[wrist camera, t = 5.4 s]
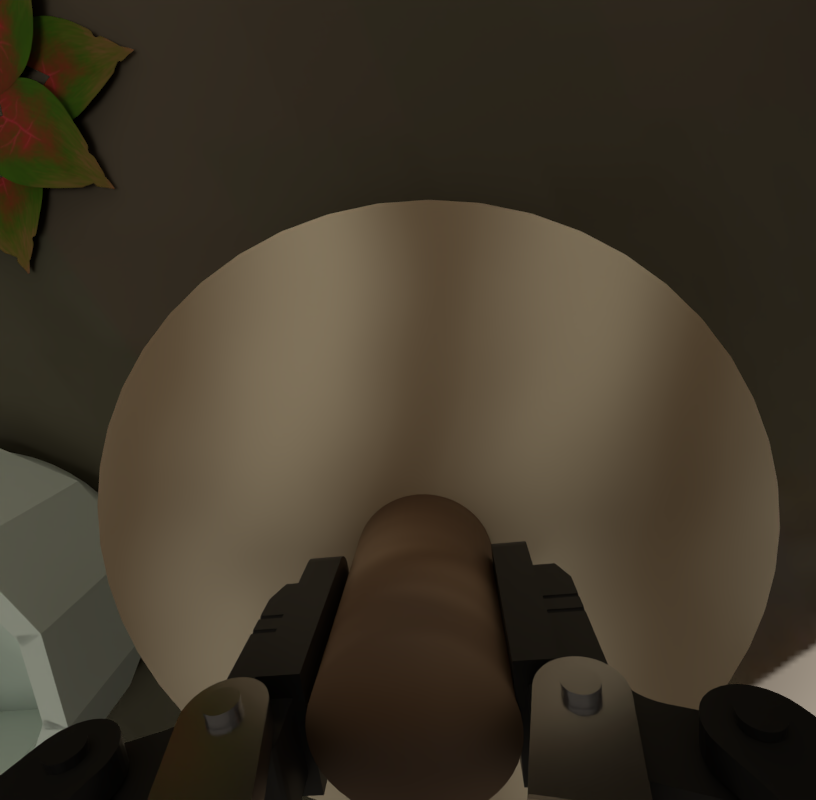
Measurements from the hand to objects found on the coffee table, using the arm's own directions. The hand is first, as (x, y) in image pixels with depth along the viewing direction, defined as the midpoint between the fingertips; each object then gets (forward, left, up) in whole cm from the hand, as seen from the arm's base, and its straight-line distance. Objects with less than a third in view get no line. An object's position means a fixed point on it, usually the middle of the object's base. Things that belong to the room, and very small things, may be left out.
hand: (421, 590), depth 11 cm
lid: (0, 0, -2) cm, 2 cm away
